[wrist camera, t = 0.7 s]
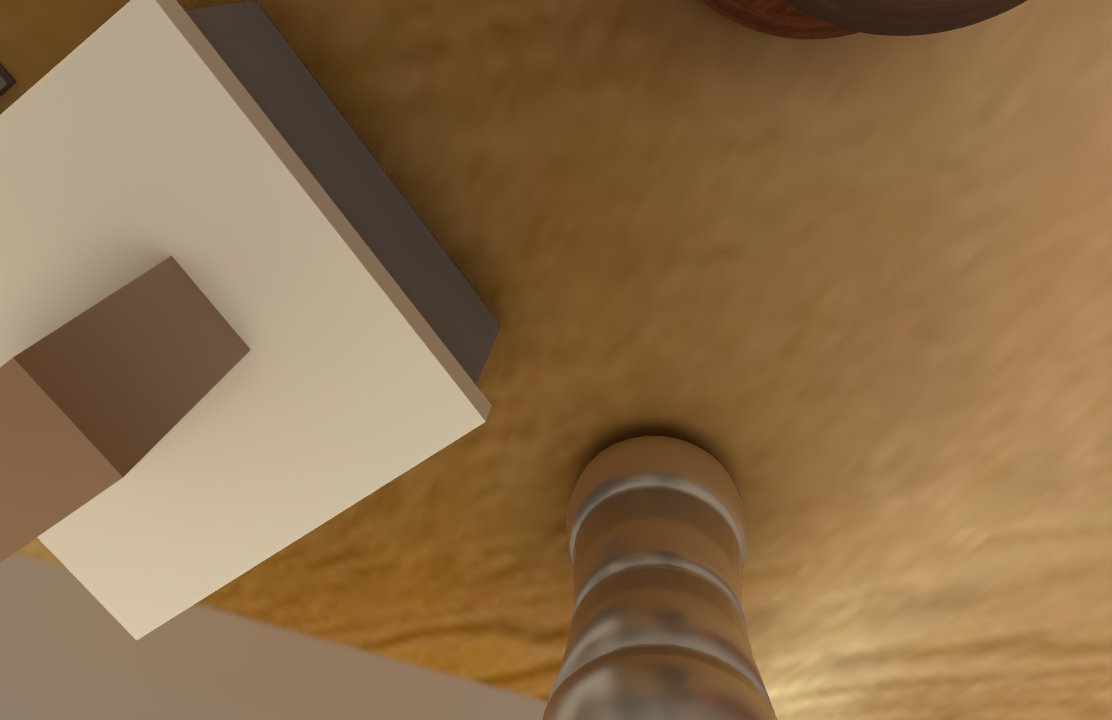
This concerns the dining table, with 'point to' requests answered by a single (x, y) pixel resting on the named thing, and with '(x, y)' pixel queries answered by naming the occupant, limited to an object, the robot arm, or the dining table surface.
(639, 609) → the plastic bottle
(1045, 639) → the dining table surface
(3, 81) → the mat
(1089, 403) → the dining table surface
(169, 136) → the lid
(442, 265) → the box
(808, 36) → the music box
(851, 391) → the dining table surface
